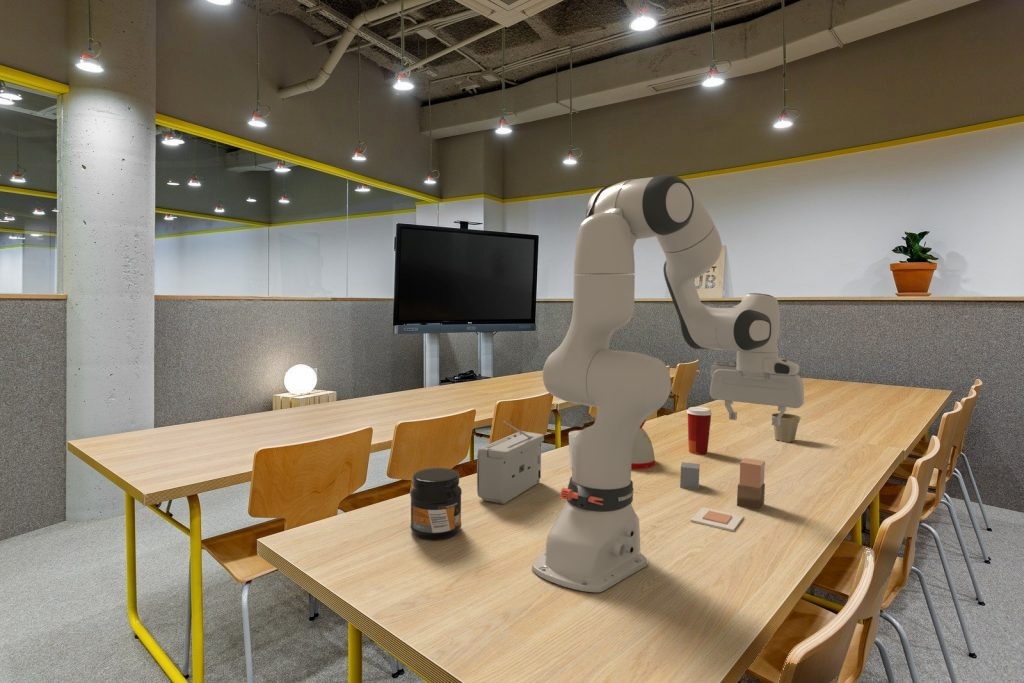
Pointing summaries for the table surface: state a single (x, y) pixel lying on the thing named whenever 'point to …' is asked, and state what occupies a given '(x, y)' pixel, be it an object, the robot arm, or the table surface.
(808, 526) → the table surface
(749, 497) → the walnut block
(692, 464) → the grey block
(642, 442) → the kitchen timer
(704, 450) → the paper cup
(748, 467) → the salmon orange block
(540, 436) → the stereo radio cassette player
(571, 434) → the white cup
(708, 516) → the tile
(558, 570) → the robot arm
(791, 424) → the flower pot
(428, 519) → the supplement container
